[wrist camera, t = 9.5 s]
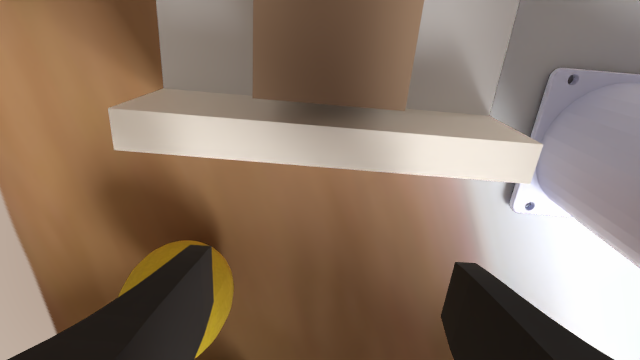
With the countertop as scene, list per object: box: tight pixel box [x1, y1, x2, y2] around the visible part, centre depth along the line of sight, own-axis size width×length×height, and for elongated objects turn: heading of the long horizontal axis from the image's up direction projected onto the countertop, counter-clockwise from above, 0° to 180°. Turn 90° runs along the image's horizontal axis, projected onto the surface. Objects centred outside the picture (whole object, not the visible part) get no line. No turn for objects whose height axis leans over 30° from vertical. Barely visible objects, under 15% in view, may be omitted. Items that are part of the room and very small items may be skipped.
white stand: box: [108, 0, 543, 184], centre depth 14 cm, size 15×10×7 cm
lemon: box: [118, 240, 234, 358], centre depth 19 cm, size 6×6×8 cm
